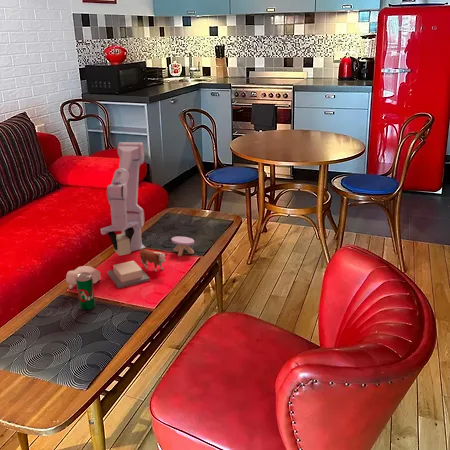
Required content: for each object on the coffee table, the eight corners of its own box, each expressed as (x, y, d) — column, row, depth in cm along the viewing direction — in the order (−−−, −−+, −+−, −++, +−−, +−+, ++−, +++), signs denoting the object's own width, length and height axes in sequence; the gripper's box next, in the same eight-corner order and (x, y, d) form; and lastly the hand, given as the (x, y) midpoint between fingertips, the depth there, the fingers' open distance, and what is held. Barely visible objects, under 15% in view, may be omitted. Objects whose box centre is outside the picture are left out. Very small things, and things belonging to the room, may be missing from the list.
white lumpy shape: (82, 286, 186) (57, 290, 172) (84, 263, 186) (60, 266, 172) (102, 289, 184) (78, 294, 169) (104, 266, 183) (81, 269, 169)
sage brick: (113, 249, 196) (112, 235, 194) (125, 247, 198) (123, 233, 196) (119, 255, 191) (118, 241, 188) (130, 253, 193) (129, 239, 191)
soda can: (90, 301, 170) (86, 270, 165) (98, 307, 167) (94, 275, 162) (76, 307, 167) (72, 275, 162) (84, 312, 163) (80, 280, 159)
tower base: (107, 273, 189) (106, 264, 187) (137, 266, 194) (136, 257, 193) (118, 288, 178) (117, 278, 177) (149, 280, 184) (149, 270, 182)
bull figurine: (163, 276, 187) (162, 256, 184) (138, 266, 194) (136, 247, 191) (171, 271, 190) (170, 252, 187) (146, 262, 198) (144, 243, 195)
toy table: (167, 253, 205) (166, 240, 203) (180, 245, 213) (179, 233, 210) (186, 259, 201) (186, 246, 198) (199, 250, 208) (199, 238, 206)
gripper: (103, 221, 182) (106, 255, 187) (140, 214, 189) (143, 247, 194) (97, 215, 188) (101, 248, 193) (134, 209, 194) (136, 240, 200)
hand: (121, 247), depth 194 cm, fingers closed on sage brick, 4 cm apart
